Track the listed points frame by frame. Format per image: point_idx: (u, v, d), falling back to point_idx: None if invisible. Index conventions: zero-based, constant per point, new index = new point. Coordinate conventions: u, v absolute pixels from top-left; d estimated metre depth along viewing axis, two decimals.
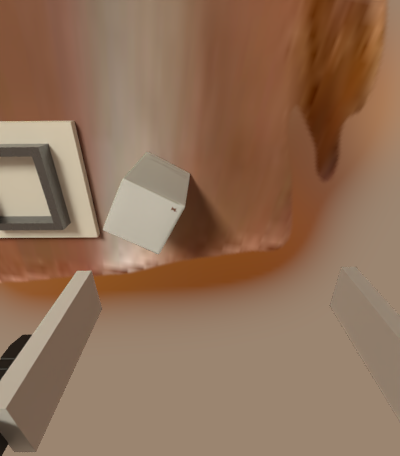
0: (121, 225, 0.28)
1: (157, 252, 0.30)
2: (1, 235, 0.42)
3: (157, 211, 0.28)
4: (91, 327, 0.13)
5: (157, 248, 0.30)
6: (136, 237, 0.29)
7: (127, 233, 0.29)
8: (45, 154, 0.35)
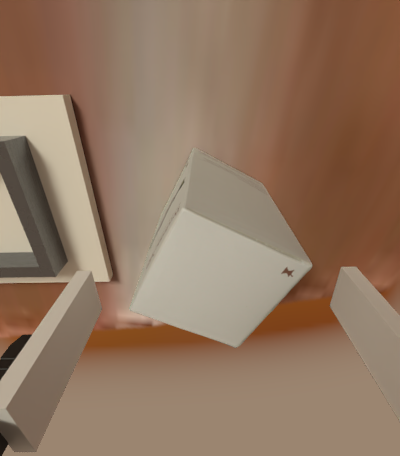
0: (169, 302, 0.13)
1: (235, 345, 0.15)
2: None
3: (250, 275, 0.13)
4: (91, 327, 0.13)
5: (236, 339, 0.15)
6: (198, 322, 0.14)
7: (179, 315, 0.14)
8: (20, 154, 0.20)
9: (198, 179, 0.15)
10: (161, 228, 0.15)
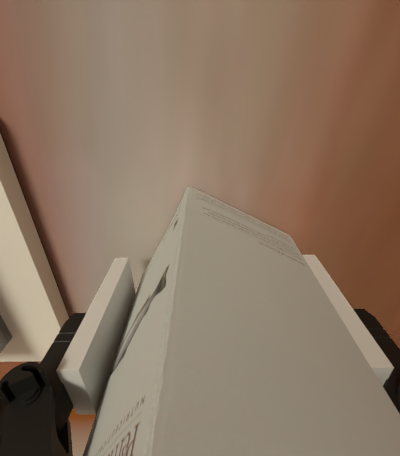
0: None
1: None
2: None
3: None
4: (129, 310, 0.14)
5: None
6: None
7: None
8: None
9: (193, 283, 0.07)
10: (117, 384, 0.07)
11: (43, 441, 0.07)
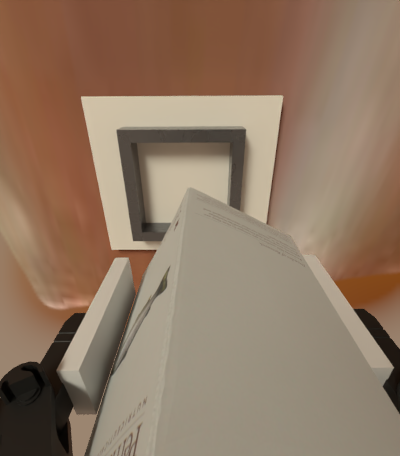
0: None
1: None
2: (140, 246, 0.33)
3: None
4: (129, 310, 0.14)
5: None
6: None
7: None
8: None
9: (194, 285, 0.07)
10: (119, 385, 0.07)
11: (43, 441, 0.07)
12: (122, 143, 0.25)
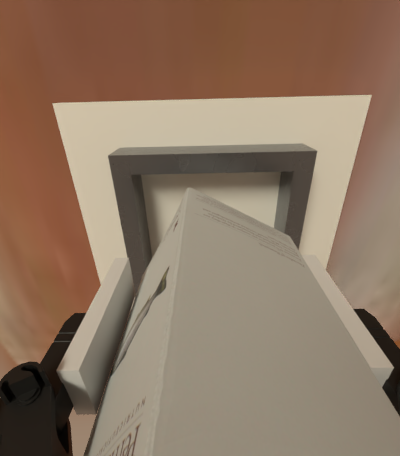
0: None
1: None
2: None
3: None
4: (129, 310, 0.14)
5: None
6: None
7: None
8: None
9: (193, 285, 0.07)
10: (118, 385, 0.07)
11: (43, 441, 0.07)
12: (118, 176, 0.16)
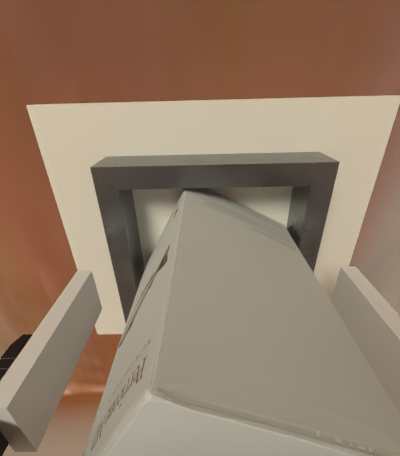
0: None
1: None
2: None
3: None
4: (91, 327, 0.13)
5: None
6: None
7: None
8: None
9: (191, 257, 0.08)
10: (127, 346, 0.08)
11: None
12: (103, 191, 0.13)
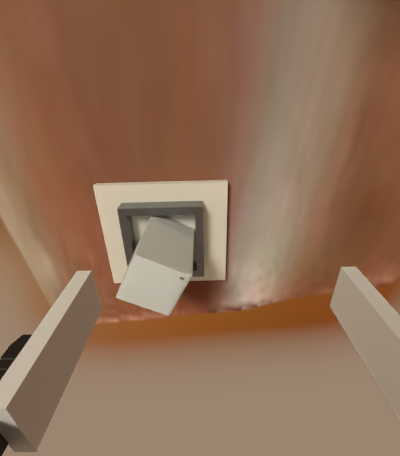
0: (133, 293, 0.30)
1: (167, 314, 0.32)
2: None
3: (166, 280, 0.30)
4: (91, 327, 0.13)
5: (167, 311, 0.32)
6: (147, 302, 0.31)
7: (138, 299, 0.31)
8: None
9: (147, 236, 0.32)
10: None
11: None
12: (121, 216, 0.37)
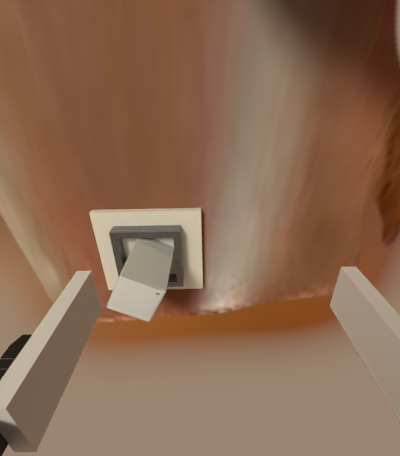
0: (120, 304, 0.39)
1: (147, 320, 0.40)
2: None
3: (145, 295, 0.38)
4: (91, 327, 0.13)
5: (147, 318, 0.40)
6: (131, 311, 0.39)
7: (124, 309, 0.39)
8: (180, 234, 0.46)
9: (132, 258, 0.40)
10: None
11: None
12: (112, 238, 0.45)
